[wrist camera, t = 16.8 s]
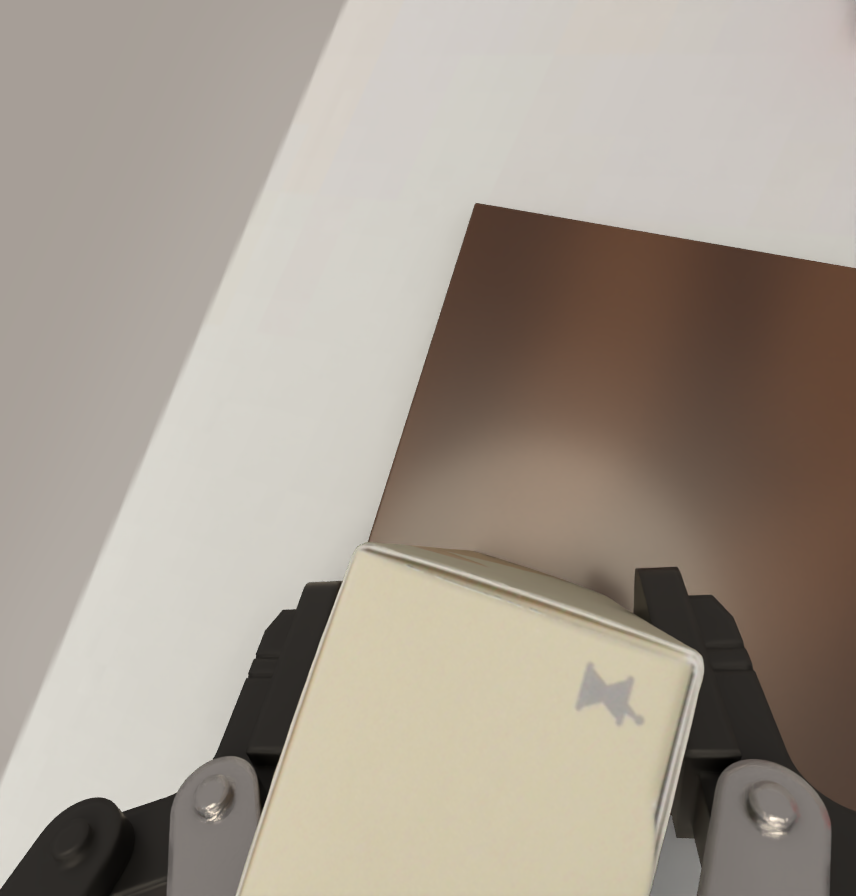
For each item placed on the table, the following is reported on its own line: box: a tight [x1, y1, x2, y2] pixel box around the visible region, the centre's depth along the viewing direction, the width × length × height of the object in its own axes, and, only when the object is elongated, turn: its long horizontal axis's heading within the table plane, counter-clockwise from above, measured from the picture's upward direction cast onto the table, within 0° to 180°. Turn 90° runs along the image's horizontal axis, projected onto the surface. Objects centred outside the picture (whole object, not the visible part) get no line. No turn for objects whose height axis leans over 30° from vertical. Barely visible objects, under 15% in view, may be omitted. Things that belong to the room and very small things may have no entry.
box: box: [236, 542, 704, 896], centre depth 12 cm, size 5×4×11 cm
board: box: [368, 203, 856, 815], centre depth 18 cm, size 16×16×1 cm
